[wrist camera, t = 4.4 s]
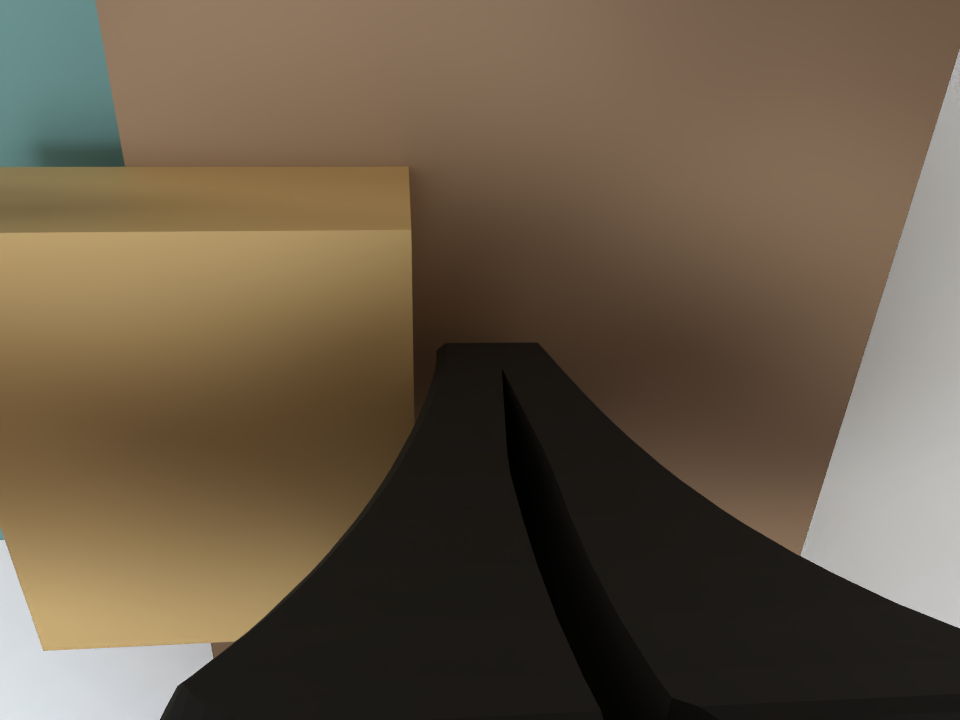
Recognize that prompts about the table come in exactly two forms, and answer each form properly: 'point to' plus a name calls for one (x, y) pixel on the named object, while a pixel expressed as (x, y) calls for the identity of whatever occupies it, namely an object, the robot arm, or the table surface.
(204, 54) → the deck
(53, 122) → the mat
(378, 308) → the tile
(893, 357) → the table surface
